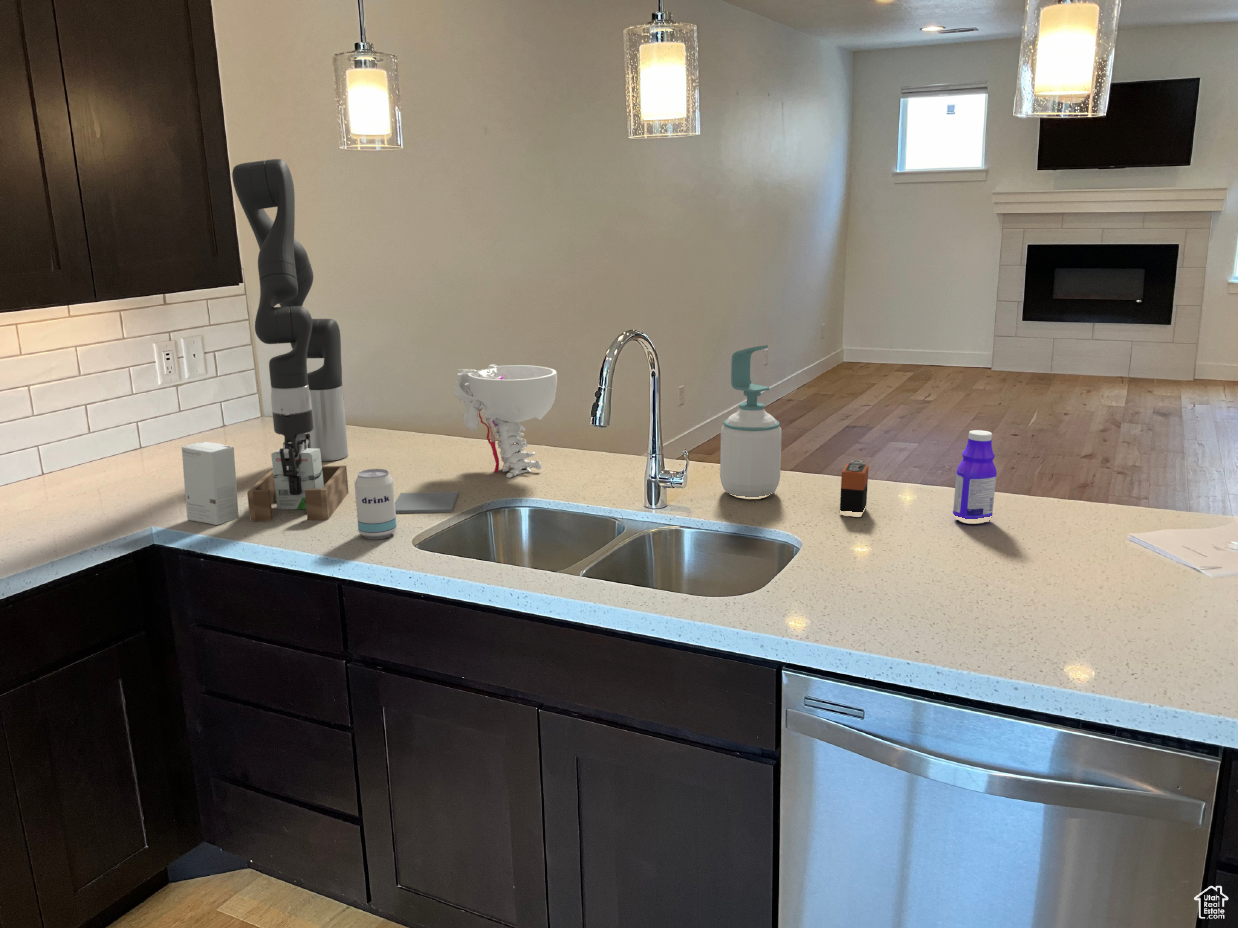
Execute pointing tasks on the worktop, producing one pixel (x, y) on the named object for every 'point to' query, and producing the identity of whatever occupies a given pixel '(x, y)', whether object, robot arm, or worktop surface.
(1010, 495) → the worktop surface
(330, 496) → the crate
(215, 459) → the skincare box
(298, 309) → the robot arm
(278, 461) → the ink box
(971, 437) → the bottle
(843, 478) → the battery
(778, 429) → the soap bottle
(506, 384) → the skull
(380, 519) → the beverage can
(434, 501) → the mat
